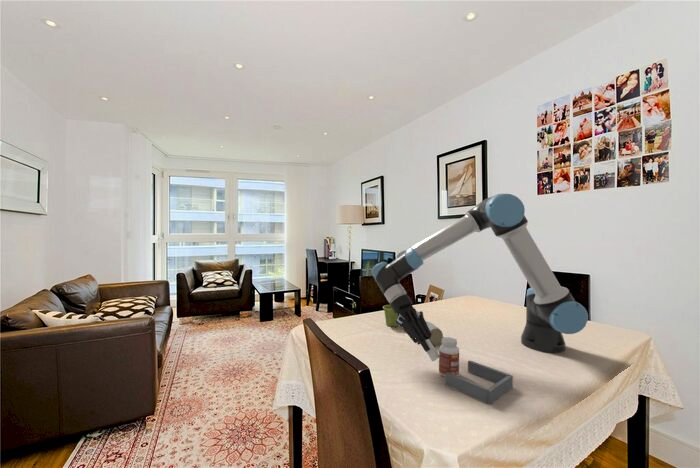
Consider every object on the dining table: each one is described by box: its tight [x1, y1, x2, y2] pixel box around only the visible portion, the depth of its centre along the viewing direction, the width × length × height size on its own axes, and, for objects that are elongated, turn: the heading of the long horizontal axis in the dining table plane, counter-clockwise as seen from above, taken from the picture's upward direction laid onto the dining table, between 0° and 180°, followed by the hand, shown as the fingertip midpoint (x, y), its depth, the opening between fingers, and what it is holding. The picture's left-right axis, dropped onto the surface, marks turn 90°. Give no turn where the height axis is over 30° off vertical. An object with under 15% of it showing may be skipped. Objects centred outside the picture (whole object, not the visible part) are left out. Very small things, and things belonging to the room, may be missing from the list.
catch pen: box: [444, 360, 514, 405], centre depth 91 cm, size 14×14×4 cm
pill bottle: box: [438, 336, 460, 377], centre depth 99 cm, size 6×6×11 cm
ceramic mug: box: [426, 321, 445, 346], centre depth 127 cm, size 11×8×8 cm
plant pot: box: [382, 304, 400, 327], centre depth 149 cm, size 9×9×9 cm
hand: (436, 359), depth 102 cm, fingers closed
